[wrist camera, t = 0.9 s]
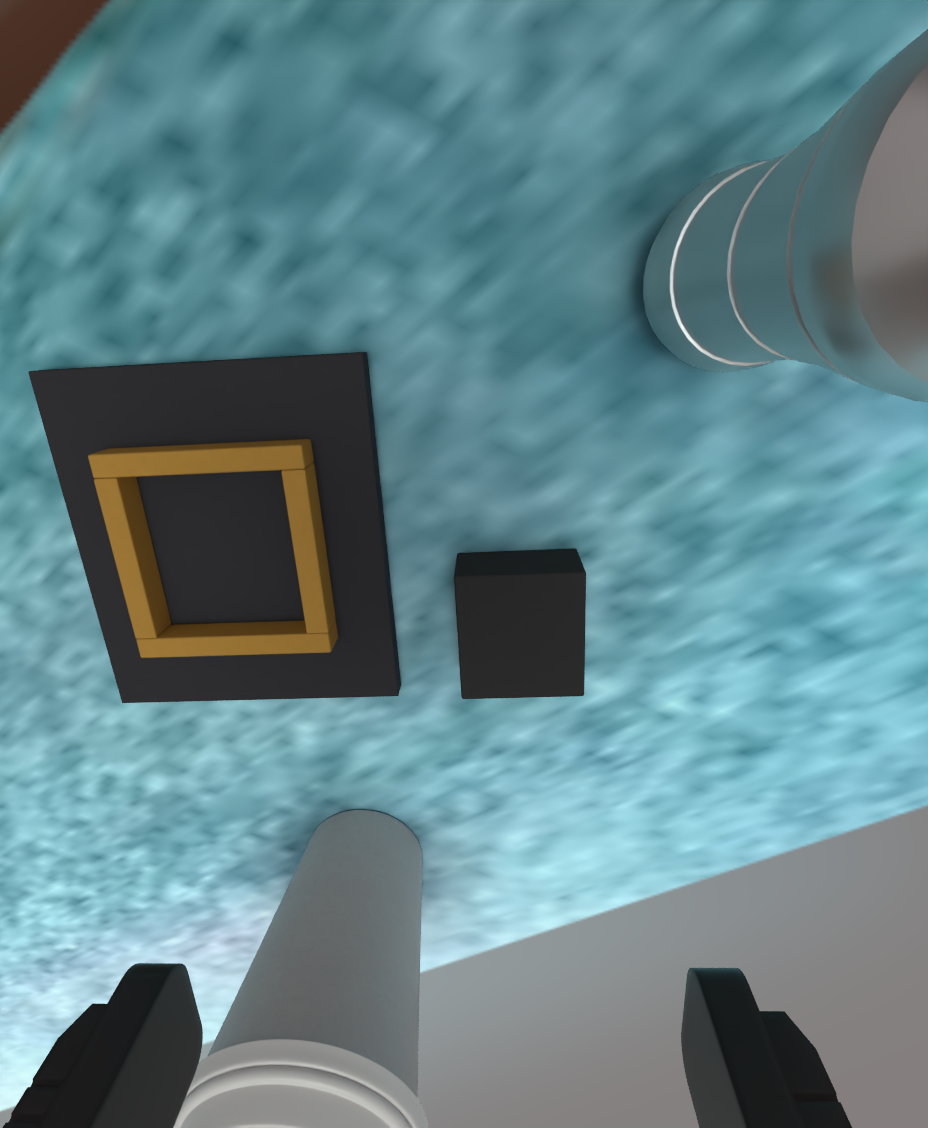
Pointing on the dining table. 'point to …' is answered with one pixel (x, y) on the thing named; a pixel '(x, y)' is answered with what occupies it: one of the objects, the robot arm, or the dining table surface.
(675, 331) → the plastic bottle
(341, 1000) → the coffee cup
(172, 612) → the base pad
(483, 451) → the dining table surface
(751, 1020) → the robot arm
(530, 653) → the black block
